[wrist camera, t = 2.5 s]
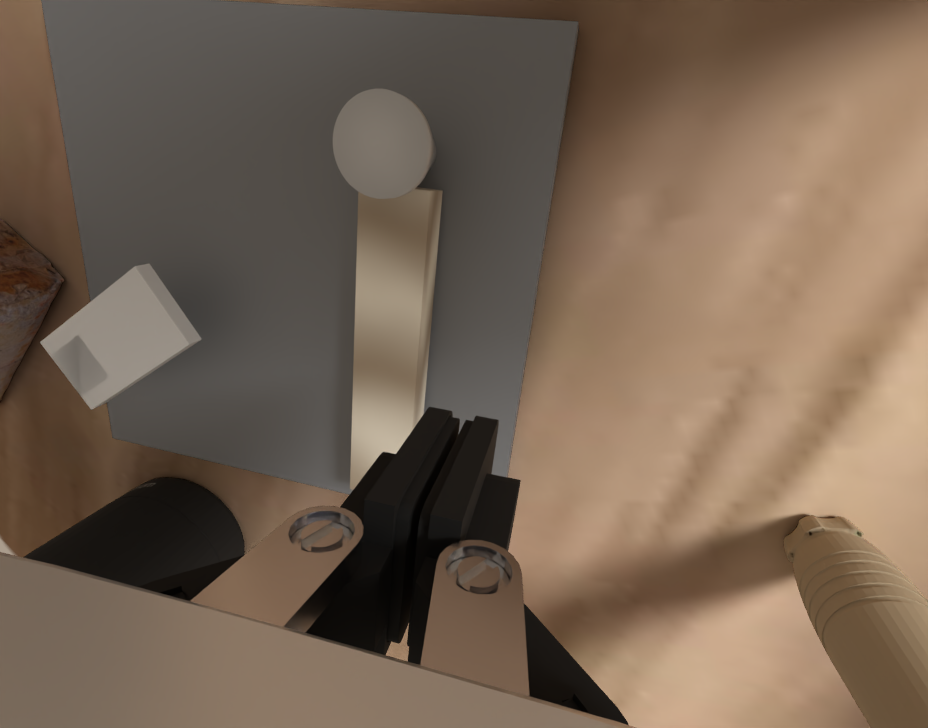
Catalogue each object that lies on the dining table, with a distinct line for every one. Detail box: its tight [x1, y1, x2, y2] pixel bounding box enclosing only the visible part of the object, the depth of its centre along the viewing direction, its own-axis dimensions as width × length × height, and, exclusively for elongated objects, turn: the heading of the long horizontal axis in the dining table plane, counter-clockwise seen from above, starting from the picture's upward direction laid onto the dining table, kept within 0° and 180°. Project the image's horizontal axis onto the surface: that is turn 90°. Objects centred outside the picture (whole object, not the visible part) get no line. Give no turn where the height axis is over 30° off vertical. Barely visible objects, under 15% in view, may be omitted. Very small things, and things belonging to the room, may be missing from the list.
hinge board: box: [40, 0, 579, 494], centre depth 24 cm, size 23×24×5 cm
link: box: [350, 187, 443, 490], centre depth 24 cm, size 15×3×2 cm, turn 174°
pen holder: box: [23, 478, 244, 587], centre depth 29 cm, size 9×9×10 cm
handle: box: [783, 515, 928, 728], centre depth 17 cm, size 5×6×15 cm
